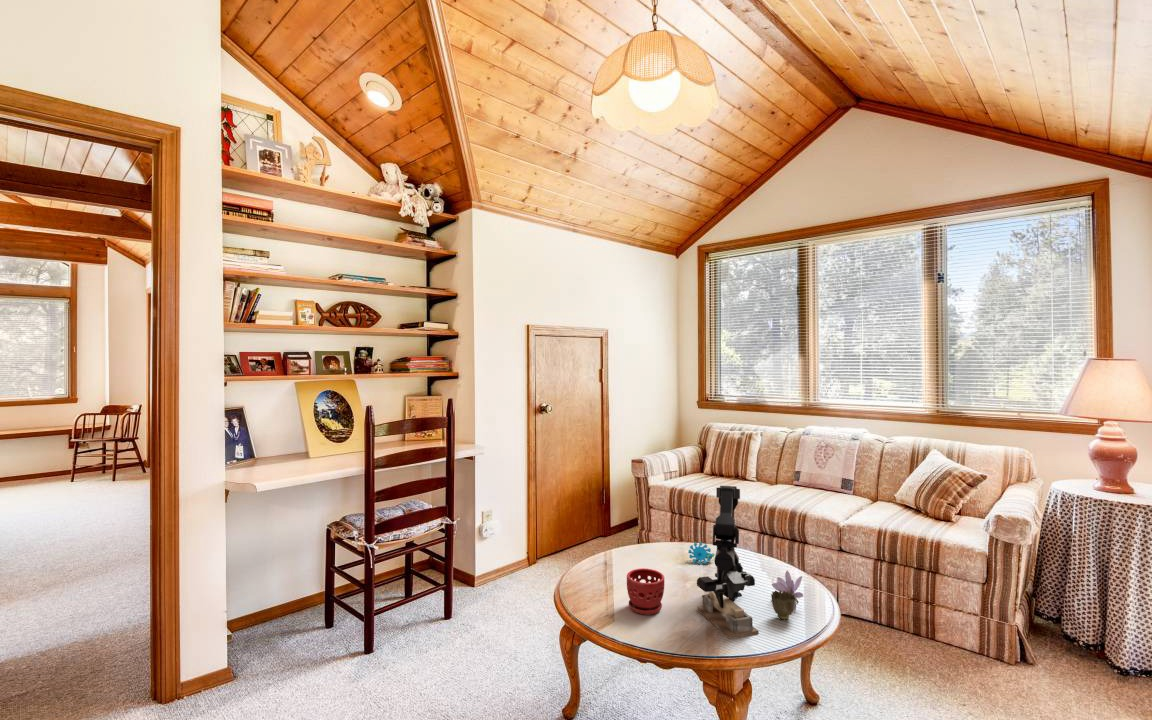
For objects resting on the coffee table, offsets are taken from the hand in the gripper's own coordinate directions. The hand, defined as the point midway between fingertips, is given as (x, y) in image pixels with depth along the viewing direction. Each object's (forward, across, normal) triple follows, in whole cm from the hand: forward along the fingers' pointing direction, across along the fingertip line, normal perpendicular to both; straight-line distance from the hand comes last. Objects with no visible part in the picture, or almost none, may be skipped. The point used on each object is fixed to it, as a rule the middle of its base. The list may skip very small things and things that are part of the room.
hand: (726, 607), depth 179 cm
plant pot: (+5, -22, +16) cm, 28 cm away
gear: (+5, +19, +52) cm, 55 cm away
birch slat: (+2, 0, 0) cm, 2 cm away
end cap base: (+4, 0, 0) cm, 4 cm away
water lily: (+5, +27, +5) cm, 28 cm away
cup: (+5, +19, -4) cm, 20 cm away
